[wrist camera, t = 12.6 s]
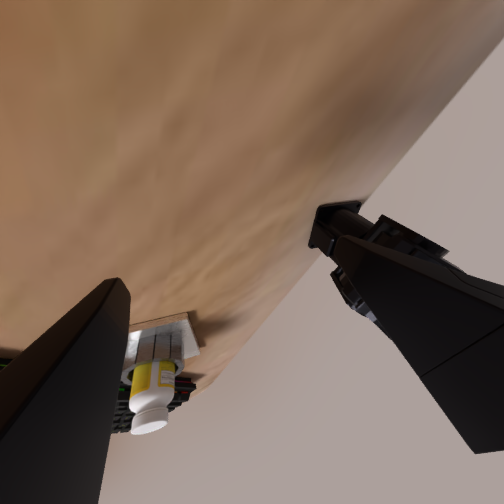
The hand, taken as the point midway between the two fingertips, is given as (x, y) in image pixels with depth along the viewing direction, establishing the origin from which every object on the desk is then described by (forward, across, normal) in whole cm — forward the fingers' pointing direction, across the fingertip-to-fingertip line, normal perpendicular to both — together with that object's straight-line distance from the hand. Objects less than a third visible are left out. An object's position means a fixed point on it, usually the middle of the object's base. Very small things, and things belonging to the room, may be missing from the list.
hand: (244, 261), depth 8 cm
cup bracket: (+13, +12, +26) cm, 31 cm away
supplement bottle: (+12, +12, +26) cm, 31 cm away
